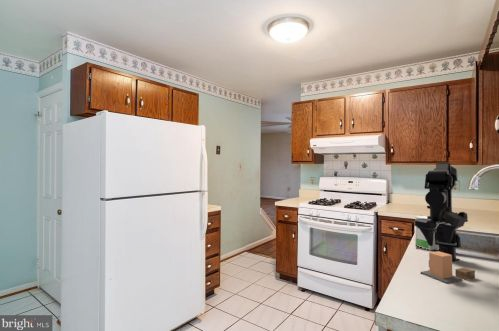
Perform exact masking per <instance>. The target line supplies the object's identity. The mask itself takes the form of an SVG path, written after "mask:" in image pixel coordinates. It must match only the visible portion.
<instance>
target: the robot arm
mask: <svg viewBox="0 0 499 331" xmlns="http://www.w3.org/2000/svg"><path fill="white" fill-rule="evenodd" d="M458 179H459V178H458V170H457V168H455V167H453V166H452V163H451V162H437V163H436V164H435V168H434V169H433V170H429V171H428V172H427V173H426V174H425V180H424V190H429V191H428V192H427V193H426V194H425V195H424V196H425V197H424V200H425V202H426V204H427V206H426V209H427V210H428V209H429V215H428V216H427V219H424V218H421V219H416V218H415V219H416V220H414V227H415V226H417V228H419V229H420V231H421V232H422V234H423V235H424V237H425V239H426V240H427V242H428V244H429V246H433V236H434V232H435V245H438V249H437V251H440V252H443V253H446V254H450V255H452V262H457V261H460V258H457V249H459V248H462V243H461V242H462V240H461V237H460V236H459V234H458V233H457V231H458V229H459V228H462V227H464V226H465V223H467V222H469V220H468V213H466V212H465V211H459V212H454V211H453V210H452V209H453V208H452V207H453V204H452V203H453V200H452V196H453V195H452V193H453V192H452V191H453V189H454V188H455V186H456V185H457V182H458V181H459V180H458ZM430 219H431V220H430ZM437 225H438V226H437ZM436 226H437V228H436ZM435 228H436V229H435Z"/></svg>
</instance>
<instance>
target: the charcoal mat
mask: <svg viewBox="0 0 499 331" xmlns="http://www.w3.org/2000/svg"><path fill="white" fill-rule="evenodd" d="M420 274H421V275H424V276H427V277H429V278H431V279H434V280H436V281H439V282H441V283H445V284H452V283H457V282H461V281H463V279H462V278H459V277H456V275H453V274H452V277H449V278H443V279H442V278H440V277H437V276H434V275H432V274H430V269H429V270H423V271H420Z"/></svg>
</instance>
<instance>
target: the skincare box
mask: <svg viewBox="0 0 499 331" xmlns="http://www.w3.org/2000/svg"><path fill="white" fill-rule="evenodd" d="M421 218H424V219H427V216H426V215H419V216H415V219H421ZM430 220H431V219H430ZM437 226H438V225H437ZM437 226H436V228H437ZM436 228H435V229H436ZM414 244H415V245H417V246H419V247H418V248H420V247H422V248H421V249H424V248H426V249H425V250H427V249H431V250H430V251H434V250H438V249H439V245H435V232H434V236H433V246H429V244H428V242H427V240H426V239H425V237H424V235H423V234H422V232H421V231H420V229H419V228H417V226H415V225H414ZM415 245H414V246H415ZM417 246H416V247H417Z"/></svg>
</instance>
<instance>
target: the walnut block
mask: <svg viewBox="0 0 499 331" xmlns="http://www.w3.org/2000/svg"><path fill="white" fill-rule="evenodd" d="M475 271H476V270H473V269H471V268H467V267H461V268H460V267H459V268H456V269H455V271H454V273H455V276H456V277H459V278H462V280H464V281H469V280H473V279H476V274H475V273H476V272H475Z"/></svg>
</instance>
